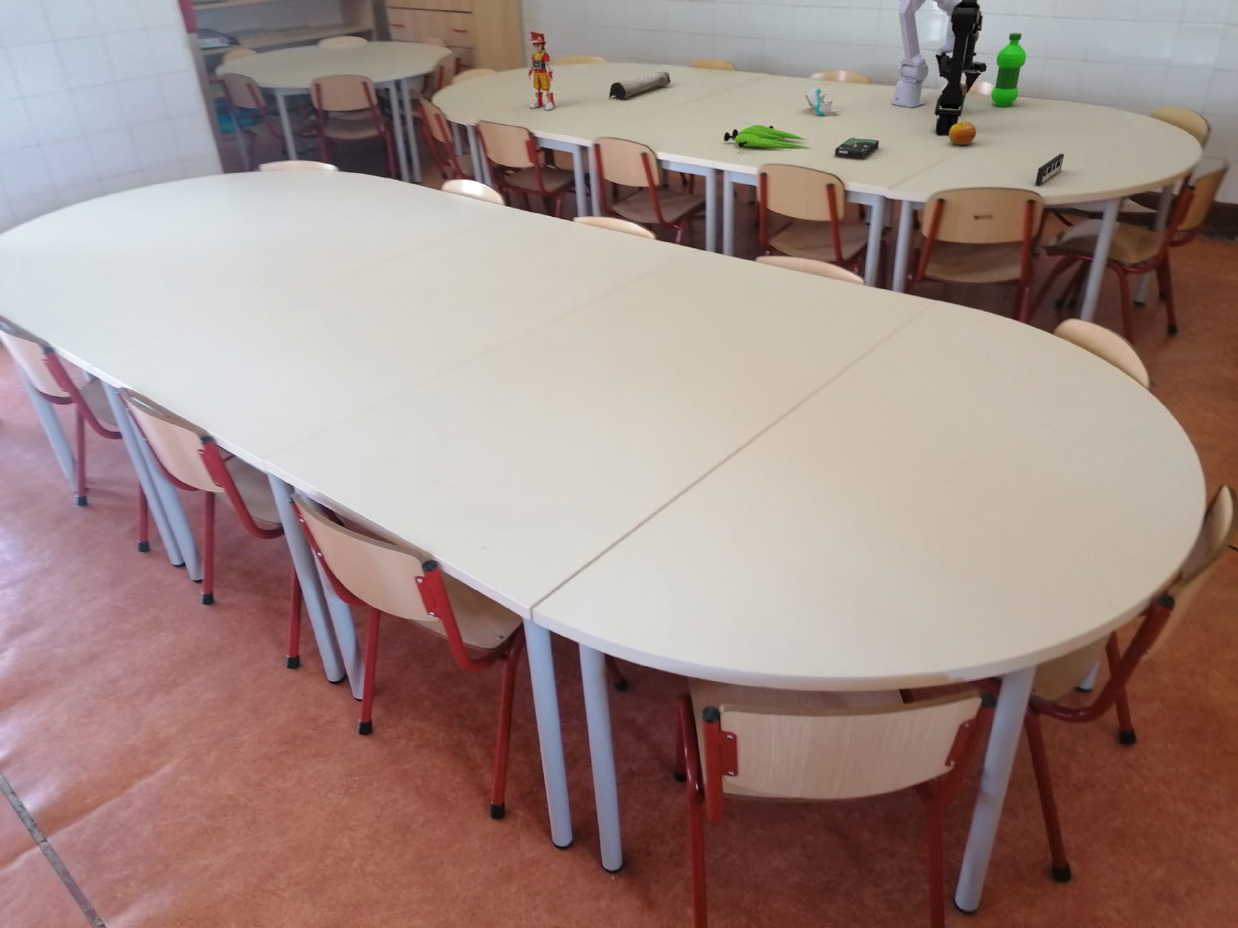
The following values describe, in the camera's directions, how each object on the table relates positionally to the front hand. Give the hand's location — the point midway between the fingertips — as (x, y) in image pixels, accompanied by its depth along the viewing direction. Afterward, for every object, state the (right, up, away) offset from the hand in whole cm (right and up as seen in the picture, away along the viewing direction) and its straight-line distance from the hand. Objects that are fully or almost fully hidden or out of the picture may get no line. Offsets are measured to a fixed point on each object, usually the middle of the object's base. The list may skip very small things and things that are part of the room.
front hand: (959, 94), depth 337 cm
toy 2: (-75, -25, -17) cm, 81 cm away
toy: (-161, +13, +45) cm, 168 cm away
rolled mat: (-119, +26, +59) cm, 135 cm away
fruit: (-11, -29, -29) cm, 42 cm away
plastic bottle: (+21, 0, +10) cm, 23 cm away
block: (0, -1, +1) cm, 1 cm away
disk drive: (-47, -33, -31) cm, 65 cm away
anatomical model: (-49, 0, +16) cm, 52 cm away
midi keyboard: (+3, -52, -63) cm, 81 cm away
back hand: (+3, +17, +20) cm, 27 cm away
